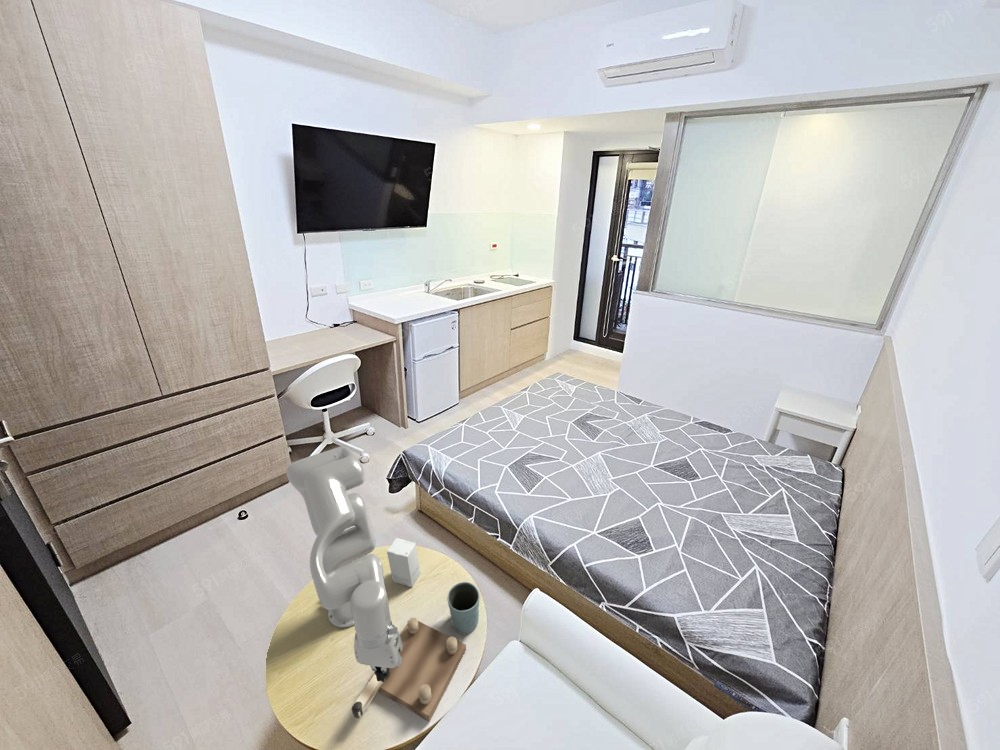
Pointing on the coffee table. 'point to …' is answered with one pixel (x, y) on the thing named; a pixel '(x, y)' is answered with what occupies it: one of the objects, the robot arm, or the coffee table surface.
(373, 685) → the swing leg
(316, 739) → the coffee table surface
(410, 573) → the skincare box
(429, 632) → the stool seat
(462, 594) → the teal cup
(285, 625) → the coffee table surface
